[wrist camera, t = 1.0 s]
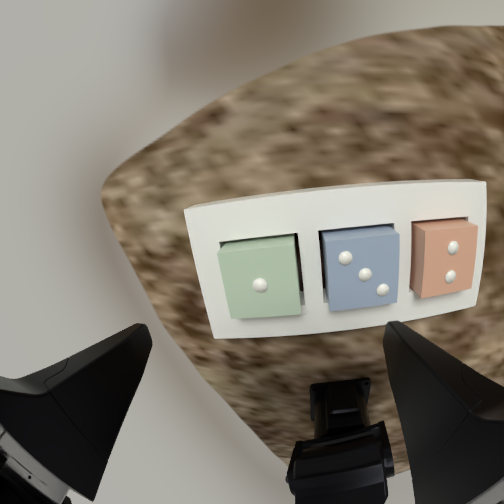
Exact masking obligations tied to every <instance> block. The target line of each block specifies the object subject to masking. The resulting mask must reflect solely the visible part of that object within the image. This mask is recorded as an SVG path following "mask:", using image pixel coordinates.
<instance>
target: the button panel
mask: <svg viewBox="0 0 504 504" xmlns="http://www.w3.org/2000/svg"><path fill="white" fill-rule="evenodd" d="M184 214H185V219H186V224H187V228H188V233H189V238H190V242H191V247H192V252H193V256H194V260H195V265H196V269H197V273H198V278H199V282H200V286H201V290H202V294H203V298H204V302H205V306H206V310H207V314H208V317H209V321H210V325H211V329H212V332H213V336H214V339H221V338H256V337H275V336H291V335H303V334H315V333H325V332H334V331H343V330H351V329H359V328H366V327H373V326H379V325H386V324H387V322H388V321H396V320H398V321H400V322H404V321H409V320H414V319H420V318H425V317H430V316H434V315H439V314H443V313H448V312H452V311H456V310H461V309H465V308H469V307H472V306H475V305H476V301H477V296H478V290H479V285H480V278H481V272H482V265H483V256H484V246H485V233H486V182H484V181H478V180H472V179H439V180H411V181H391V182H376V183H362V184H350V185H339V186H328V187H318V188H309V189H300V190H291V191H283V192H275V193H268V194H260V195H253V196H246V197H240V198H233V199H227V200H220V201H214V202H208V203H202V204H196V205H194V206H191V207H189V208H187V209H184ZM456 217H459V218H461V219H464V220H466V221H468V222H471V223H473V224H475V225H478V234H477V248H476V258H475V267H474V274H473V281H472V287H471V289H467V290H462V291H457V292H453V293H448V294H443V295H438V296H432V297H427V298H422V299H421V298H420V297H419V296H418V294H417V293H416V292H415V291H414V290H413V288H412V287H411V286H410V285H409V284H410V268H411V221H420V220H431V219H443V218H456ZM378 224H386V225H388V226H389V227H391V228H392V229H394V230H395V231H396V232H398V233H399V234H400V253H399V282H398V297H397V303H391V304H385V305H378V306H371V307H363V308H356V309H348V310H339V311H329V306H328V301H327V296H326V289H323V286H322V271H321V258H320V246H319V235H318V231H319V230H328V229H338V228H348V227H357V226H367V225H378ZM291 233H298V239H299V248H300V257H301V267H302V277H303V287H304V291H300V293H301V314H299V315H287V316H274V317H259V318H240V319H231V316H230V312H229V308H228V303H227V298H226V294H225V289H224V285H223V280H222V275H221V270H220V265H219V261H218V256H217V253H218V251H219V250H220V249H221V248H222V247H223V246H224V245H225V243H226V242H227V241H230V240H239V239H247V238H256V237H265V236H273V235H282V234H291Z"/></svg>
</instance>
